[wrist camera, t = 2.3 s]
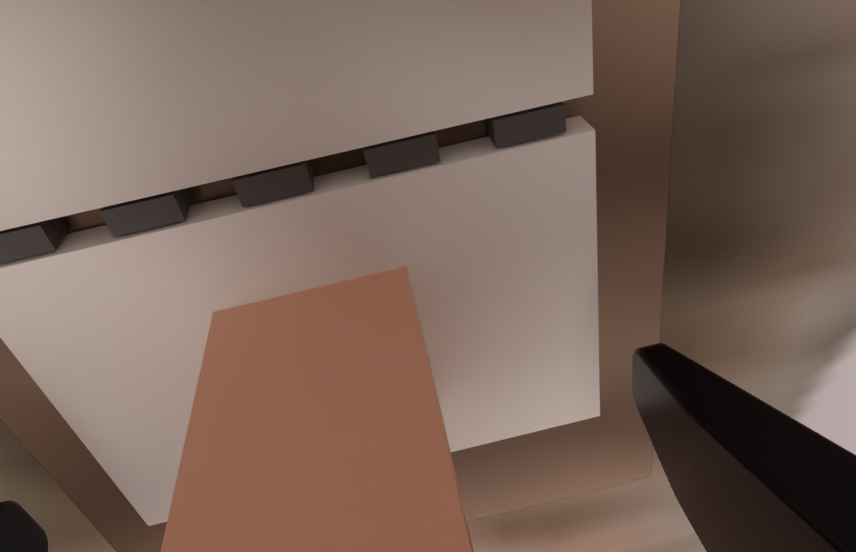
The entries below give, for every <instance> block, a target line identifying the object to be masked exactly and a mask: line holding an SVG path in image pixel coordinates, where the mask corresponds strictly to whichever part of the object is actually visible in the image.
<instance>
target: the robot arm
mask: <svg viewBox="0 0 856 552" xmlns="http://www.w3.org/2000/svg"><path fill="white" fill-rule="evenodd" d="M631 388H632V395H633V399H634V402H635V405H636V407H637V409H638V412H639V414H640V416H641V418H642V421H643V423H644V425H645V428H646V430H647V432H648V435H649V437H650V439H651V442H652V444H653V446H654V448H655V451H656V453H657V455H658V458H659V460H660V462H661V465H662V467H663V469H664V471H665V474H666V476H667V478H668V481H669V483H670V485H671V487H672V489H673V492H674V494H675V496H676V498H677V500H678V502H679V504H680V505H681V507H682V509H683V511H684V513H685V515H686V516H687V518H688V520H689V522H690V523H691V525H692V527H693V529H694V530H695V532H696V534H697V536H698V537H699V539H700V541H701V543H702V544H703V546H704V548H705V550H706V551H707V552H856V455H854V454H853V453H851V452H849V451H847V450H846V449H844V448H842V447H841V446H839V445H837V444H835V443H834V442H832V441H830V440H829V439H827V438H825V437H823V436H822V435H820V434H818V433H817V432H815V431H813V430H811V429H810V428H808V427H806V426H805V425H803V424H801V423H799V422H798V421H796V420H794V419H793V418H791V417H789V416H787V415H786V414H784V413H782V412H781V411H779V410H777V409H775V408H774V407H772V406H770V405H769V404H767V403H765V402H763V401H762V400H760V399H758V398H757V397H755V396H753V395H751V394H750V393H748V392H746V391H745V390H743V389H741V388H739V387H738V386H736V385H734V384H733V383H731V382H729V381H727V380H726V379H724V378H722V377H720V376H719V375H717V374H715V373H714V372H712V371H710V370H708V369H707V368H705V367H703V366H702V365H700V364H698V363H696V362H695V361H693V360H691V359H690V358H688V357H686V356H684V355H683V354H681V353H679V352H678V351H676V350H674V349H672V348H671V347H669V346H667V345H665V344H662V343H657V344H652V345H648V346H644V347H640V348H637V349H635V351H634V352H633V356H632V385H631ZM0 552H48V540H47V536H46V533H45V531H44V530H43V529H42V528H41V527H40V526H39V525H38V523H37V522H36V521H35V520H34V519H33V518H32V517H31V516H30V515H29V514H28V513H27V512H26V511H25V510H24V509H23V508H22V507H21V506H20V505H19V504H18V503H16V502H14V501H4V502H0Z"/></svg>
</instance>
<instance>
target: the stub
mask: <svg viewBox="0 0 856 552" xmlns="http://www.w3.org/2000/svg"><path fill="white" fill-rule="evenodd" d="M438 150H439V155H440V161H439V162H434V163H430V164H426V165H421V166H417V167H413V168H408V169H404V170H400V171H395V172H391V173H387V174H383V175H378V176H374V177H370V175H369V171H368V167H367V165H363V166H358V167H354V168H350V169H346V170H341V171H337V172H333V173H328V174H324V175H320V176H315V177H314V191H309V192H305V193H301V194H296V195H292V196H288V197H283V198H279V199H275V200H270V201H266V202H262V203H258V204H253V205H249V206H245V207H242V205H241V202H240V200H239V197H238V195H233V196H229V197H225V198H220V199H216V200H212V201H207V202H203V203H199V204H194V205H190V208H189V211H188V214H187V217H186V220H184V221H180V222H176V223H171V224H167V225H163V226H158V227H154V228H150V229H145V230H141V231H137V232H133V233H128V234H124V235H120V236H115V237H113V235H112V234H111V232H110V230H109V228H108V226H107V225H104V226H99V227H95V228H91V229H86V230H82V231H78V232H73V233H69V234H66V235H65V237H64V238H63V240H62V241H61V243H60V244H59V246H58V247H57V249H56V250H55V251H51V252H46V253H42V254H38V255H33V256H29V257H25V258H20V259H16V260H12V261H8V262H3V263H0V338H1V339H2V340H3V342H4V343H5V344H6V345H7V347H8V348H9V349H10V350H11V352H12V353H13V354H14V356H15V357H16V358H17V359H18V361H19V362H20V363H21V364H22V366H23V367H24V368H25V370H26V371H27V372H28V373H29V375H30V376H31V377H32V378H33V380H34V381H35V382H36V384H37V385H38V386H39V387H40V389H41V390H42V391H43V392H44V394H45V395H46V396H47V398H48V399H49V400H50V401H51V403H52V404H53V405H54V407H55V408H56V409H57V410H58V412H59V413H60V414H61V415H62V417H63V418H64V419H65V421H66V422H67V423H68V424H69V426H70V427H71V428H72V429H73V431H74V432H75V433H76V435H77V436H78V437H79V438H80V440H81V441H82V442H83V443H84V445H85V446H86V447H87V449H88V450H89V451H90V452H91V454H92V455H93V456H94V457H95V459H96V460H97V461H98V463H99V464H100V465H101V466H102V468H103V469H104V470H105V472H106V473H107V474H108V475H109V477H110V478H111V479H112V480H113V482H114V483H115V484H116V486H117V487H118V488H119V489H120V491H121V492H122V493H123V494H124V496H125V497H126V498H127V500H128V501H129V502H130V503H131V505H132V506H133V507H134V508H135V510H136V511H137V512H138V514H139V515H140V516H141V517H142V519H143V520H144V521H145V522H146V524H147V525H148V526H151V525H155V524H159V523H163V522H167V525H166V529H165V534H164V538H163V543H162V548H161V552H474V551H473V547H472V542H471V538H470V534H469V529H468V525H467V521H466V516H465V512H464V508H463V503H462V499H461V495H460V490H459V486H458V482H457V477H456V473H455V469H454V464H453V460H452V456H451V452H454V451H459V450H463V449H467V448H471V447H475V446H479V445H483V444H487V443H491V442H495V441H500V440H504V439H508V438H512V437H516V436H520V435H524V434H528V433H532V432H536V431H541V430H545V429H549V428H553V427H557V426H561V425H565V424H569V423H573V422H577V421H582V420H586V419H590V418H594V417H598V416H600V385H599V324H598V263H597V203H596V142H595V129H594V128H593V127H592V126H591V125H590V124H589V123H587V122H586V121H585V120H584V119H583V118H582V117H581V116H580V115H579V116H575V117H570V118H566V132H564V133H559V134H555V135H551V136H546V137H542V138H538V139H533V140H529V141H525V142H520V143H516V144H512V145H508V146H503V147H499V148H496V146H495V145H494V143H493V142H492V140H491V138H490V137H489V136H488V137H484V138H479V139H475V140H471V141H466V142H462V143H458V144H454V145H449V146H445V147H441V148H438Z"/></svg>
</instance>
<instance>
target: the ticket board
mask: <svg viewBox="0 0 856 552" xmlns="http://www.w3.org/2000/svg"><path fill="white" fill-rule="evenodd" d="M679 15H680V0H0V263H3V262H8V261H12V260H16V259H20V258H25V257H29V256H33V255H38V254H42V253H46V252H51V251H55V250H56V249H57V247H58V246H59V244H60V243H61V241H62V240H63V238H64V237H65V235H66V234H69V233H73V232H78V231H82V230H86V229H91V228H95V227H99V226H104V225H107V226H108V228H109V230H110V232H111V234H112V235H113V237H115V236H120V235H124V234H128V233H133V232H137V231H141V230H145V229H150V228H154V227H158V226H163V225H167V224H171V223H176V222H180V221H184V220H186V217H187V214H188V211H189V208H190V205H194V204H199V203H203V202H207V201H212V200H216V199H220V198H225V197H229V196H233V195H238V197H239V200H240V202H241V205H242V207H245V206H249V205H253V204H258V203H262V202H266V201H270V200H275V199H279V198H283V197H288V196H292V195H296V194H301V193H305V192H309V191H314V177H315V176H320V175H324V174H328V173H333V172H337V171H341V170H346V169H350V168H354V167H358V166H363V165H367V167H368V171H369V175H370V177H374V176H378V175H383V174H387V173H391V172H395V171H400V170H404V169H408V168H413V167H417V166H421V165H426V164H430V163H434V162H439V161H440V155H439V150H438V148H441V147H445V146H449V145H454V144H458V143H462V142H466V141H471V140H475V139H479V138H484V137H488V136H489V137H490V138H491V140H492V142H493V143H494V145H495V146H496V148H499V147H503V146H508V145H512V144H516V143H520V142H525V141H529V140H533V139H538V138H542V137H546V136H551V135H555V134H559V133H564V132H566V118H570V117H575V116H579V115H580V116H581V117H582V118H583V119H584V120H585V121H586V122H587V123H589V124H590V125H591V126H592V127H593V128H594V129H595V142H596V203H597V263H598V324H599V385H600V416H598V417H594V418H590V419H586V420H582V421H577V422H573V423H569V424H565V425H561V426H557V427H553V428H549V429H545V430H541V431H536V432H532V433H528V434H524V435H520V436H516V437H512V438H508V439H504V440H500V441H495V442H491V443H487V444H483V445H479V446H475V447H471V448H467V449H463V450H459V451H454V452H451V456H452V460H453V464H454V469H455V473H456V477H457V482H458V486H459V490H460V495H461V499H462V503H463V508H464V512H465V516H466V521H467V522H469V521H473V520H477V519H481V518H485V517H489V516H493V515H497V514H501V513H505V512H509V511H513V510H517V509H521V508H525V507H529V506H533V505H538V504H542V503H546V502H550V501H554V500H558V499H562V498H566V497H570V496H574V495H578V494H582V493H586V492H590V491H594V490H598V489H602V488H606V487H610V486H614V485H619V484H623V483H627V482H631V481H635V480H639V479H643V478H647V477H651V469H652V453H653V444H652V442H651V439H650V437H649V435H648V432H647V430H646V428H645V425H644V423H643V421H642V418H641V416H640V414H639V412H638V409H637V407H636V405H635V402H634V399H633V395H632V388H631V385H632V356H633V352H634V351H635V349H637V348H640V347H644V346H648V345H652V344H657V343H659V339H660V323H661V307H662V291H663V274H664V258H665V242H666V226H667V210H668V193H669V177H670V161H671V145H672V129H673V112H674V96H675V80H676V64H677V48H678V31H679ZM0 419H1V420H2V422H3V423H4V424H5V425H6V426H7V427H8V428H9V430H10V431H11V432H12V433H13V434H14V435H15V436H16V438H17V439H18V440H19V441H20V442H21V443H22V444H23V446H24V447H25V448H26V449H27V450H28V451H29V452H30V453H31V455H32V456H33V457H34V458H35V459H36V460H37V461H38V463H39V464H40V465H41V466H42V467H43V468H44V469H45V471H46V472H47V473H48V474H49V475H50V476H51V477H52V479H53V480H54V481H55V482H56V483H57V484H58V485H59V487H60V488H61V489H62V490H63V491H64V492H65V493H66V495H67V496H68V497H69V498H70V499H71V500H72V501H73V503H74V504H75V505H76V506H77V507H78V508H79V509H80V511H81V512H82V513H83V514H84V515H85V516H86V517H87V519H88V520H89V521H90V522H91V523H92V524H93V525H94V527H95V528H96V529H97V530H98V531H99V532H100V533H101V535H102V536H103V537H104V538H105V539H106V540H107V541H108V542H109V544H110V545H111V546H112V547H113V548H114V549H115V550H116V552H161V548H162V543H163V538H164V534H165V529H166V525H167V522H163V523H159V524H155V525H151V526H148V525H147V524H146V522H145V521H144V520H143V519H142V517H141V516H140V515H139V514H138V512H137V511H136V510H135V508H134V507H133V506H132V505H131V503H130V502H129V501H128V500H127V498H126V497H125V496H124V494H123V493H122V492H121V491H120V489H119V488H118V487H117V486H116V484H115V483H114V482H113V480H112V479H111V478H110V477H109V475H108V474H107V473H106V472H105V470H104V469H103V468H102V466H101V465H100V464H99V463H98V461H97V460H96V459H95V457H94V456H93V455H92V454H91V452H90V451H89V450H88V449H87V447H86V446H85V445H84V443H83V442H82V441H81V440H80V438H79V437H78V436H77V435H76V433H75V432H74V431H73V429H72V428H71V427H70V426H69V424H68V423H67V422H66V421H65V419H64V418H63V417H62V415H61V414H60V413H59V412H58V410H57V409H56V408H55V407H54V405H53V404H52V403H51V401H50V400H49V399H48V398H47V396H46V395H45V394H44V392H43V391H42V390H41V389H40V387H39V386H38V385H37V384H36V382H35V381H34V380H33V378H32V377H31V376H30V375H29V373H28V372H27V371H26V370H25V368H24V367H23V366H22V364H21V363H20V362H19V361H18V359H17V358H16V357H15V356H14V354H13V353H12V352H11V350H10V349H9V348H8V347H7V345H6V344H5V343H4V342H3V340H2V339H1V338H0Z"/></svg>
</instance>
